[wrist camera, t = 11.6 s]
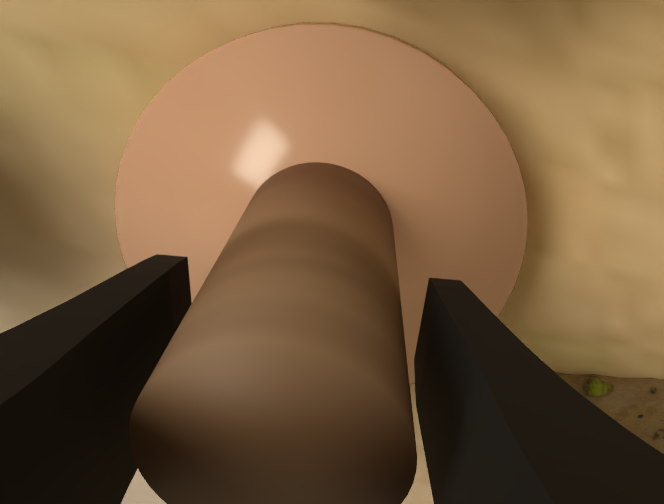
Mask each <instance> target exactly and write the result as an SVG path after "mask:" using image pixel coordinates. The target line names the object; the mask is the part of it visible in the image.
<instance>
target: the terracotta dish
mask: <svg viewBox="0 0 664 504" xmlns="http://www.w3.org/2000/svg"><path fill="white" fill-rule="evenodd" d="M309 162H322V163H331V164H335V165H339V166H342V167H345V168H347V169H350V170H352V171H354V172H356V173H358V174H359V175H361V176H362V177H364V178H365V179H366V180H368V181H369V182H370V183H371V184H372V185H373V186H374V187H375V188H376V189H377V190H378V192H379V193H380V194H381V195H382V197H383V199H384V200H385V202H386V204H387V206H388V208H389V211H390V214H391V217H392V222H393V230H394V240H395V249H396V259H397V269H398V278H399V288H400V298H401V307H402V317H403V327H404V336H405V346H406V355H407V365H408V375H409V384H413V383H415V373H414V357H415V351H416V346H417V340H418V335H419V329H420V324H421V318H422V313H423V308H424V302H425V297H426V291H427V286H428V280H429V278H440V279H452V280H461V281H462V282H463V283H464V284H465V285H466V286H467V287H468V288H469V289H470V290H471V291H472V292H473V293H474V294H475V295H476V296H477V297H478V298H479V299H480V300H481V301H482V302H483V303H484V304H485V306H486V307H487V308H488V309H489V310H490V311H491V312H492V313H493V314H494V315H495V316H496V317H497V316H498V315H499V314H500V312H501V311H502V309H503V307H504V306H505V304H506V302H507V300H508V298H509V296H510V294H511V292H512V291H513V289H514V286H515V283H516V280H517V278H518V275H519V272H520V269H521V267H522V262H523V257H524V252H525V247H526V243H527V225H528V213H527V202H526V191H525V187H524V184H523V180H522V176H521V172H520V168H519V164H518V162H517V160H516V157H515V155H514V153H513V150H512V148H511V145H510V143H509V141H508V139H507V137H506V135H505V134H504V132H503V131H502V129H501V127H500V126H499V124H498V122H497V121H496V119H495V118H494V116H493V114H492V113H491V112H490V111H489V110H488V109H487V107H486V106H485V105H484V104H483V103H482V101H481V100H480V99H479V98H478V97H477V95H476V94H475V93H474V92H473V91H472V90H471V89H470V88H469V87H468V86H467V85H466V84H465V83H464V82H462V81H461V80H460V79H459V78H458V77H457V76H456V75H455V74H453V73H452V72H451V71H450V70H449V69H448V68H447V67H445V66H444V65H443V64H442V63H441V62H439V61H437V60H436V59H434V58H433V57H431V56H430V55H428V54H427V53H425V52H424V51H422V50H421V49H419V48H417V47H415V46H413V45H411V44H409V43H406V42H404V41H402V40H400V39H398V38H396V37H394V36H391V35H388V34H385V33H381V32H378V31H375V30H371V29H368V28H365V27H360V26H353V25H346V24H339V23H297V24H290V25H283V26H277V27H272V28H269V29H265V30H262V31H259V32H255V33H252V34H249V35H246V36H243V37H241V38H238V39H235V40H233V41H231V42H229V43H227V44H224V45H222V46H220V47H218V48H216V49H214V50H212V51H210V52H208V53H206V54H204V55H203V56H201V57H200V58H198V59H197V60H195V61H194V62H192V63H191V64H189V65H188V66H186V67H185V68H183V69H182V70H181V71H180V72H179V73H178V74H176V75H175V76H174V77H173V78H172V79H171V80H170V81H169V82H168V83H167V84H166V85H165V86H164V87H162V88H161V89H160V91H159V92H158V93H157V94H156V96H155V97H154V98H153V99H152V101H151V102H150V103H149V105H148V106H147V107H146V108H145V110H144V111H143V113H142V114H141V116H140V118H139V120H138V121H137V123H136V125H135V127H134V129H133V130H132V132H131V134H130V136H129V139H128V142H127V144H126V147H125V150H124V153H123V155H122V158H121V162H120V167H119V172H118V177H117V182H116V195H115V216H116V227H117V234H118V239H119V243H120V247H121V252H122V256H123V258H124V261H125V264H126V266H127V269H128V268H130V267H131V266H133V265H135V264H137V263H139V262H141V261H143V260H145V259H147V258H149V257H152V256H154V255H156V254H160V255H172V256H183V257H188V267H189V279H190V290H191V301H192V302H193V300H194V299H195V297H196V295H197V293H198V292H199V290H200V288H201V286H202V285H203V283H204V281H205V279H206V278H207V276H208V274H209V272H210V271H211V269H212V267H213V265H214V264H215V262H216V260H217V258H218V257H219V255H220V253H221V251H222V250H223V248H224V246H225V244H226V243H227V241H228V239H229V237H230V236H231V234H232V232H233V230H234V229H235V227H236V225H237V223H238V222H239V220H240V218H241V216H242V215H243V213H244V211H245V209H246V208H247V206H248V204H249V202H250V201H251V199H252V197H253V196H254V194H255V193H256V191H257V190H258V188H259V187H260V186H261V185H262V184H263V183H264V182H265V181H266V180H267V179H269V178H270V177H271V176H272V175H274V174H276V173H277V172H279V171H281V170H283V169H285V168H288V167H290V166H294V165H297V164H302V163H309Z"/></svg>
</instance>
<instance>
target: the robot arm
mask: <svg viewBox="0 0 664 504" xmlns="http://www.w3.org/2000/svg"><path fill="white" fill-rule="evenodd" d="M191 304H192V301H191V290H190V279H189V267H188V257H183V256H172V255H160V254H156V255H154V256H152V257H149V258H147V259H145V260H143V261H141V262H139V263H137V264H135V265H133V266H131V267H130V268H128V269H126V270H124V271H122V272H120V273H119V274H117V275H115V276H113V277H111V278H109V279H108V280H106V281H104V282H102V283H100V284H98V285H96V286H95V287H93V288H91V289H89V290H87V291H85V292H83V293H82V294H80V295H78V296H76V297H74V298H72V299H70V300H69V301H67V302H65V303H63V304H61V305H58V306H56V307H54V308H52V309H50V310H48V311H46V312H44V313H42V314H40V315H38V316H36V317H34V318H32V319H30V320H28V321H26V322H24V323H22V324H20V325H18V326H16V327H14V328H12V329H9V330H7V331H5V332H3V333H1V334H0V504H121V502H122V499H123V497H124V495H125V493H126V491H127V488H128V486H129V484H130V482H131V480H132V478H133V476H134V474H135V472H136V471H137V469H138V467H137V465H136V463H135V461H134V458H133V455H132V452H131V448H130V441H129V422H130V418H131V414H132V410H133V407H134V405H135V403H136V401H137V399H138V397H139V395H140V393H141V391H142V390H143V388H144V386H145V384H146V383H147V381H148V379H149V377H150V376H151V374H152V372H153V370H154V369H155V367H156V365H157V363H158V362H159V360H160V358H161V356H162V355H163V353H164V351H165V349H166V348H167V346H168V344H169V342H170V341H171V339H172V337H173V335H174V334H175V332H176V330H177V328H178V327H179V325H180V323H181V321H182V320H183V318H184V316H185V314H186V313H187V311H188V309H189V307H190V306H191ZM414 373H415V392H416V406H417V412H418V418H419V424H420V429H421V435H422V440H423V446H424V451H425V457H426V462H427V468H428V473H429V479H430V484H431V489H432V495H433V500H434V504H664V454H663V453H661V452H660V451H658V450H657V449H655V448H654V447H652V446H651V445H649V444H648V443H646V442H645V441H643V440H642V439H641V438H639V437H638V436H636V435H635V434H633V433H632V432H630V431H629V430H628V429H626V428H625V427H623V426H622V425H621V424H619V423H618V422H617V421H615V420H614V419H613V418H611V417H610V416H609V415H608V414H606V413H605V412H604V411H602V410H601V409H600V408H598V407H597V406H596V405H594V404H593V403H592V402H590V401H589V400H588V399H586V398H585V397H584V396H583V395H581V394H580V393H579V392H578V391H576V390H575V389H574V388H573V387H571V386H570V385H569V384H568V383H567V382H566V381H564V380H563V379H562V378H561V377H560V376H559V375H557V374H556V373H555V372H554V371H553V370H552V369H551V368H549V367H548V366H547V365H546V364H545V363H544V362H543V361H541V360H540V359H539V358H538V357H537V356H536V355H535V354H534V353H533V352H532V351H531V350H530V349H528V348H527V347H526V346H525V345H524V344H523V343H522V342H521V341H520V340H519V339H518V338H517V337H516V336H515V335H514V334H513V333H512V332H511V331H510V330H509V329H508V328H507V327H506V326H505V325H504V324H503V323H502V322H501V321H500V320H499V319H498V318H497V317H496V316H495V315H494V314H493V313H492V312H491V311H490V310H489V309H488V308H487V307H486V306H485V304H484V303H483V302H482V301H481V300H480V299H479V298H478V297H477V296H476V295H475V294H474V293H473V292H472V291H471V290H470V289H469V288H468V287H467V286H466V285H465V284H464V283H463V282H462V281H461V280H452V279H440V278H429V280H428V286H427V291H426V297H425V302H424V308H423V313H422V318H421V324H420V329H419V335H418V340H417V346H416V351H415V357H414Z"/></svg>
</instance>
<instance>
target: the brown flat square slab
mask: <svg viewBox="0 0 664 504" xmlns="http://www.w3.org/2000/svg"><path fill="white" fill-rule="evenodd" d="M556 374H557V375H559V376H560V377H561V378H562V379H563V380H564V381H566V382H567V383H568V384H569V385H570V386H571V387H573V388H574V389H575V390H576V391H578V392H579V393H580V394H581V395H583V396H584V397H585V398H586V399H588V400H589V401H590V402H592V403H593V404H594V405H596V406H597V407H598V408H600V409H601V410H602V411H604V412H605V413H606V414H608V415H609V416H610V417H611V418H613V419H614V420H615V421H617V422H618V423H619V424H621V425H622V426H623V427H625V428H626V429H628V430H629V431H630V432H632V433H633V434H635V435H636V436H638V437H639V438H641V439H642V440H643V441H645V442H646V443H648V444H649V445H651V446H652V447H654V448H655V449H657V450H658V451H660V452H661V453H663V454H664V380H660V379H655V378H616V377H609V376H600V375H569V374H561V373H556Z"/></svg>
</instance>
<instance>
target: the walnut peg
mask: <svg viewBox="0 0 664 504" xmlns="http://www.w3.org/2000/svg"><path fill="white" fill-rule="evenodd" d="M129 441H130V448H131V452H132V455H133V458H134V461H135V463H136V465H137V467H138V469H139V471H140V473H141V475H142V476H143V477H144V479H145V480H146V482H147V483H148V485H149V486H150V487H151V488H152V489H153V490H154V491H155V493H156V494H157V495H158V496H159V497H160V498H161V499H162V500H164V501H165V502H166V503H167V504H401V503H402V502H403V500H404V499H405V498H406V496H407V495H408V493H409V490H410V488H411V486H412V484H413V481H414V477H415V473H416V466H417V452H416V442H415V432H414V423H413V413H412V404H411V394H410V384H409V375H408V365H407V355H406V346H405V336H404V327H403V317H402V307H401V298H400V288H399V278H398V269H397V259H396V249H395V240H394V230H393V222H392V217H391V214H390V211H389V208H388V206H387V204H386V202H385V200H384V199H383V197H382V195H381V194H380V193H379V192H378V190H377V189H376V188H375V187H374V186H373V185H372V184H371V183H370V182H369V181H368V180H366V179H365V178H364V177H362V176H361V175H359V174H358V173H356V172H354V171H352V170H350V169H347V168H345V167H342V166H339V165H335V164H331V163H322V162H309V163H302V164H297V165H294V166H290V167H288V168H285V169H283V170H281V171H279V172H277V173H276V174H274V175H272V176H271V177H270V178H269V179H267V180H266V181H265V182H264V183H263V184H262V185H261V186H260V187H259V188H258V190H257V191H256V193H255V194H254V196H253V197H252V199H251V201H250V202H249V204H248V206H247V208H246V209H245V211H244V213H243V215H242V216H241V218H240V220H239V222H238V223H237V225H236V227H235V229H234V230H233V232H232V234H231V236H230V237H229V239H228V241H227V243H226V244H225V246H224V248H223V250H222V251H221V253H220V255H219V257H218V258H217V260H216V262H215V264H214V265H213V267H212V269H211V271H210V272H209V274H208V276H207V278H206V279H205V281H204V283H203V285H202V286H201V288H200V290H199V292H198V293H197V295H196V297H195V299H194V300H193V302H192V304H191V306H190V307H189V309H188V311H187V313H186V314H185V316H184V318H183V320H182V321H181V323H180V325H179V327H178V328H177V330H176V332H175V334H174V335H173V337H172V339H171V341H170V342H169V344H168V346H167V348H166V349H165V351H164V353H163V355H162V356H161V358H160V360H159V362H158V363H157V365H156V367H155V369H154V370H153V372H152V374H151V376H150V377H149V379H148V381H147V383H146V384H145V386H144V388H143V390H142V391H141V393H140V395H139V397H138V399H137V401H136V403H135V405H134V407H133V410H132V414H131V418H130V422H129Z"/></svg>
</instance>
